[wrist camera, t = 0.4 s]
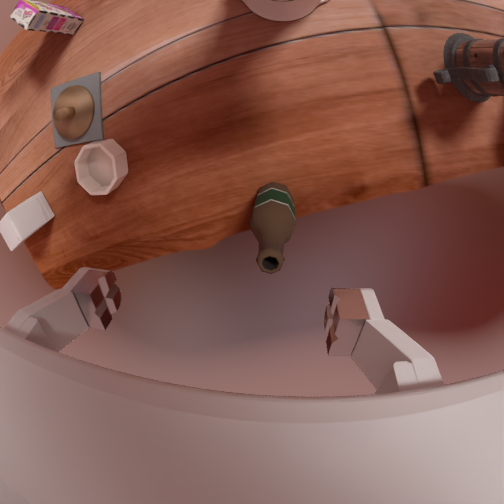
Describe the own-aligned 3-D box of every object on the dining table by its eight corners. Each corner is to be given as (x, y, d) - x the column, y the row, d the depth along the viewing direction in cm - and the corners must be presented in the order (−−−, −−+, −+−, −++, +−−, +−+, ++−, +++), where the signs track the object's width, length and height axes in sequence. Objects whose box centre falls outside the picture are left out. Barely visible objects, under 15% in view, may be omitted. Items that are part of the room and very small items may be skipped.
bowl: (85, 142, 52) (72, 147, 48) (124, 136, 51) (112, 141, 47) (91, 188, 58) (80, 195, 54) (130, 186, 57) (119, 194, 53)
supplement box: (41, 189, 59) (6, 212, 47) (55, 215, 63) (22, 241, 51) (28, 202, 62) (-5, 225, 49) (41, 226, 66) (11, 252, 53)
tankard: (479, 30, 28) (535, 25, 11) (503, 96, 35) (559, 110, 18) (408, 41, 35) (463, 26, 18) (438, 115, 42) (498, 132, 25)
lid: (54, 92, 45) (39, 94, 40) (93, 79, 44) (78, 80, 39) (58, 141, 51) (43, 147, 47) (96, 133, 51) (82, 138, 46)
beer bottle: (257, 217, 59) (244, 288, 39) (253, 182, 55) (236, 239, 35) (294, 215, 58) (300, 286, 38) (291, 179, 54) (299, 235, 34)
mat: (52, 88, 44) (50, 88, 44) (100, 72, 43) (99, 72, 43) (56, 147, 53) (55, 148, 52) (103, 138, 52) (102, 139, 51)
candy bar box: (85, 18, 35) (39, 10, 21) (73, 35, 38) (26, 31, 24) (64, 5, 32) (20, -2, 18) (53, 21, 34) (8, 17, 20)
